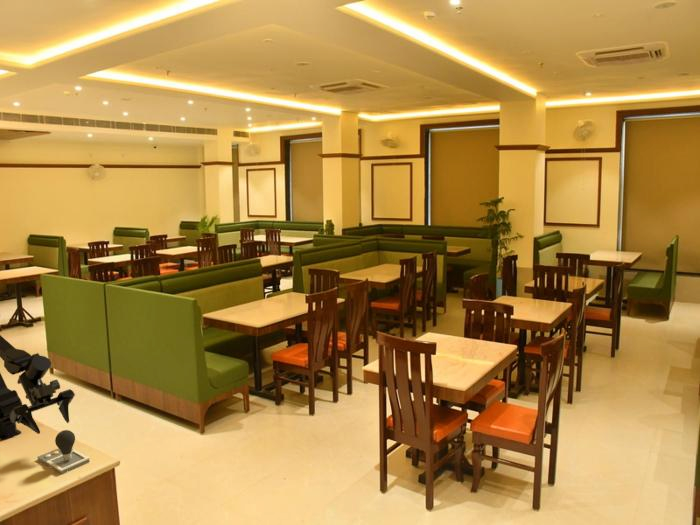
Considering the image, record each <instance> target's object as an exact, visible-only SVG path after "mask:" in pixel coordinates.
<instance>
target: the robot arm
mask: <svg viewBox="0 0 700 525" xmlns="http://www.w3.org/2000/svg"><path fill="white" fill-rule="evenodd" d="M0 358H1V360H2V361H3V367H4V368H5V369H6V371H7V373H9V374H11V375H13V376H14V375H18V374H19V375H18V379H17V381H16V383H17V384H18V385H20V384H21V387H22V388H23V390H24V394H25V399H26V400H28V401H29V404H30V406H28V404H26V403H24V404H23V402H22V400H21V398H20V396H19V393H18V392H17V390H15V389H14V390H11V389H10V388H8V386H7V384H6V382H5V380H4V378H3V375H2V373H1V372H0V440H2V441H4V440H6V439H8V438H11V437H15V436H17V435H19V434H22V431H21V430H19V429H18V428H17V424H21V425H24V426H26V427H27V428H29V429H30V430H32V431H33V432H35V433H36V434H37V435H39V434H41V430H40V428H39V426H38V424H37V422H36V421H35V419H34V417H33V414H32V413H33V412H35V411H39V410H43V409H44V408H47V407H50V406H53V405H57V406H59V407H58V411H59V412H60V414H61V416H62V417H63V420H64V421H65V422H66V424H69V423H70V414H69V405H70V403H72V401H73V399H74V397H75V396H76V394H75V392H74V391H73V390H72V389H71V388H70V389H65V390H64V391H60V392H59V393H58V395H57V396H56V397H54V394H56V393H57V390H60V389H61V385H60V382H59V380H58V379H54V380H50V381H49V384H47V383H46V382H43V380H42V379H43V378H44V376H45V375H46V374H47V372H48V371H49V370H50V368H51V366H52V361H51V360H50V358H48V357H47V356H45V355H40V354H39V352H37V353H34V354H30V353H29V352H27V351H25V350H24V349H18V348H16V347H15V346H14V345H12V344H11V343H10V342H9V341H8V340H6V339H5V338H4V337H3V336H2V335H1V334H0ZM53 397H54V398H53Z"/></svg>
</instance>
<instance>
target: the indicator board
mask: <svg viewBox="0 0 700 525" xmlns="http://www.w3.org/2000/svg"><path fill="white" fill-rule="evenodd" d="M71 455H72V458H71V459H70V460H69V461H66V460H63V455H62V453H61V450H60V449H59V448H58V447H57V448H55V449H54V450H51V451H48V452H45V453H43V454H41V455H39V456H37V460H38V461H39V460H40V462H41V463H42V462H43V464H44V463H45V464H44V465H45V466H47V465H48V466H47V467H49V468H50V467H51V469H52V470H53V471H55V472H57V473H58V472H59V473H58V474H60V475H63V474H66V473H67V471H68V472H70V471H72V470H74V469H77V468H79V467H81V466H84V465H85V463H86V464H88V463H90V457H89V456H87V455H85V454H83V453H82V452H80V451H78V450H77V449H73V448H72V452H71ZM83 464H84V465H83ZM65 472H66V473H65Z"/></svg>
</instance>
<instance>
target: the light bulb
mask: <svg viewBox="0 0 700 525" xmlns="http://www.w3.org/2000/svg"><path fill="white" fill-rule="evenodd" d="M75 442H76V435H75V433H74V432H73V431H71V430H68V429H65V430H60V432H59V433H57V435H56V437H55V439H54V443H55V445H56V447H57V449H58V448H59V449H60V450H61V453H62V455H63V460H66V461H69V460H70V459H71V458H72V455H71V452H72V449H73V447H74V445H75Z"/></svg>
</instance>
